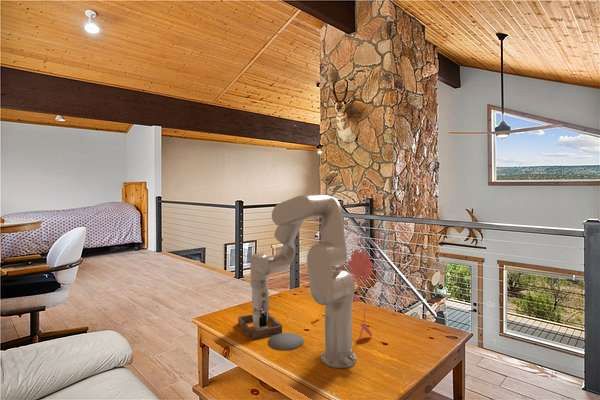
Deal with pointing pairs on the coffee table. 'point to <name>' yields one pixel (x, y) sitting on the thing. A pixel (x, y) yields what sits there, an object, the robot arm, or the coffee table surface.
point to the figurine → (360, 268)
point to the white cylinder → (257, 319)
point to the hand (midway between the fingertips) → (260, 323)
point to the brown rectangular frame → (262, 332)
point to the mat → (286, 341)
